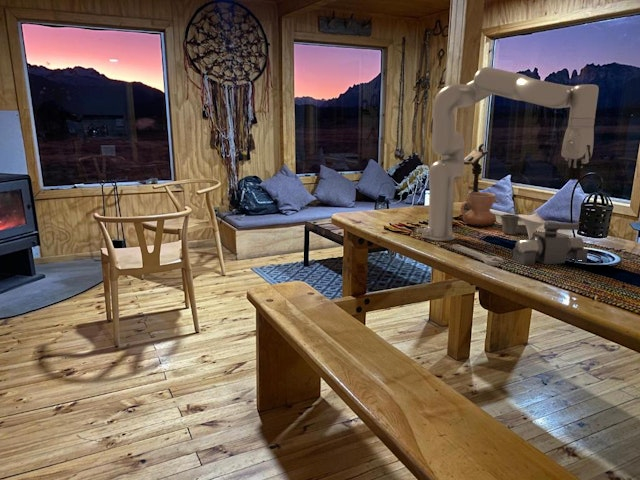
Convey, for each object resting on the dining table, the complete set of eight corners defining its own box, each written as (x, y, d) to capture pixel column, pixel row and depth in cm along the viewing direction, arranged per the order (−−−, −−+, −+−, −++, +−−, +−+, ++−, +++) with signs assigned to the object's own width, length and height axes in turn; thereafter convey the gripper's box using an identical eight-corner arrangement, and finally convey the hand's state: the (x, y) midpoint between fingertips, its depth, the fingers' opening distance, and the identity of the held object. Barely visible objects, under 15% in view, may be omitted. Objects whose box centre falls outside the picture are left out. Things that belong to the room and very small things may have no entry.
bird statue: (464, 216, 237) (469, 144, 228) (449, 211, 249) (453, 142, 240) (492, 214, 242) (498, 143, 233) (476, 209, 254) (481, 141, 245)
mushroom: (540, 238, 193) (543, 209, 190) (547, 245, 183) (550, 214, 180) (513, 237, 195) (516, 208, 192) (518, 244, 185) (521, 214, 182)
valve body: (524, 265, 160) (527, 234, 157) (511, 258, 167) (514, 228, 165) (587, 261, 163) (591, 230, 160) (572, 255, 171) (575, 225, 168)
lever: (546, 230, 161) (547, 224, 160) (542, 227, 165) (543, 221, 164) (599, 232, 158) (600, 225, 158) (594, 228, 162) (595, 222, 162)
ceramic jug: (488, 220, 227) (491, 190, 224) (504, 227, 213) (507, 195, 210) (452, 222, 225) (454, 192, 221) (465, 229, 211) (468, 197, 207)
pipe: (532, 236, 197) (534, 217, 195) (499, 235, 200) (501, 216, 198) (530, 233, 203) (532, 214, 201) (498, 231, 206) (499, 213, 204)
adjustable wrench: (450, 248, 183) (450, 244, 183) (465, 247, 185) (465, 242, 184) (491, 267, 160) (491, 261, 159) (507, 265, 161) (508, 260, 161)
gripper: (556, 123, 165) (550, 176, 170) (585, 124, 151) (578, 182, 156) (576, 123, 166) (569, 176, 171) (607, 124, 152) (599, 182, 157)
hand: (573, 179), depth 163 cm, fingers closed
